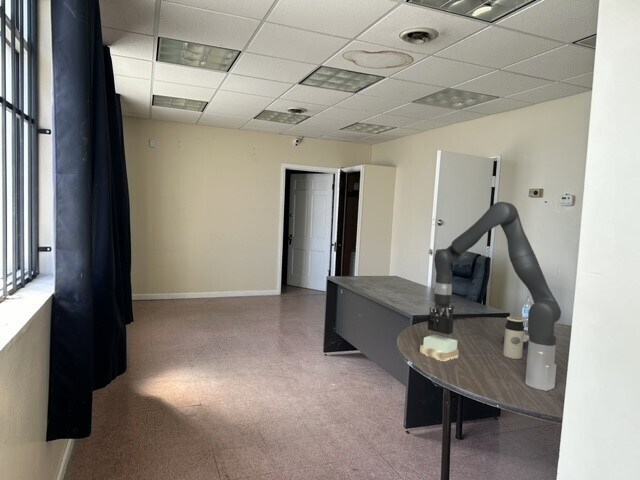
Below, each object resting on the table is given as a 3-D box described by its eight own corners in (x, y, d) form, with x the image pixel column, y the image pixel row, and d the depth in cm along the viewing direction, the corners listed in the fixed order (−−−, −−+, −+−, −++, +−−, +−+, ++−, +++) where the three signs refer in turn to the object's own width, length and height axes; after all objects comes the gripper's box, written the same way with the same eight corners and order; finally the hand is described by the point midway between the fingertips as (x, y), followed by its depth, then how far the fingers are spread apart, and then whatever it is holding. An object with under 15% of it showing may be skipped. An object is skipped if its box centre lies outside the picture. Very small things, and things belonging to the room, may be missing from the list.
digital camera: (454, 332, 191) (455, 317, 190) (448, 334, 187) (449, 319, 186) (433, 327, 198) (433, 312, 197) (427, 329, 194) (428, 314, 193)
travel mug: (503, 352, 201) (506, 315, 200) (522, 355, 197) (525, 318, 196) (502, 357, 194) (505, 319, 193) (521, 360, 190) (524, 321, 189)
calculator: (535, 336, 219) (525, 340, 208) (534, 344, 219) (524, 349, 208) (513, 331, 227) (502, 335, 216) (512, 339, 227) (502, 343, 216)
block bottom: (458, 358, 191) (458, 350, 190) (441, 362, 185) (442, 353, 184) (435, 350, 201) (436, 341, 201) (419, 353, 195) (420, 345, 195)
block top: (456, 349, 192) (457, 340, 191) (447, 353, 185) (447, 344, 185) (433, 342, 200) (434, 334, 200) (423, 346, 194) (423, 337, 193)
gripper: (438, 295, 184) (435, 333, 185) (460, 292, 192) (457, 329, 193) (425, 292, 190) (423, 328, 191) (447, 289, 198) (444, 325, 199)
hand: (440, 328), depth 192 cm, fingers closed on digital camera, 5 cm apart
